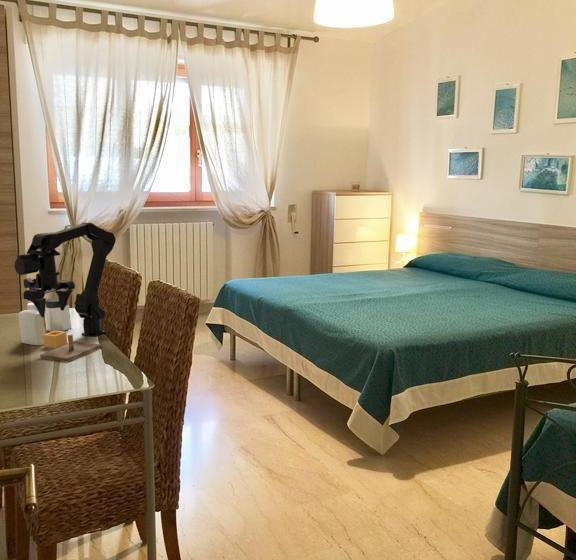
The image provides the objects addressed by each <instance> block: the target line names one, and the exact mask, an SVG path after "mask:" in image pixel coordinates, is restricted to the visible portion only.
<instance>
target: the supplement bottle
mask: <svg viewBox="0 0 576 560" xmlns="http://www.w3.org/2000/svg"><path fill="white" fill-rule="evenodd" d="M26 305H27V306H26V307H27V310H34V311H37V312H38V310H37V308H36V306H35V305H34V303H32V302H29V303H27V304H26ZM43 320H44V328H45V334H47V333H48V332H47V331H48V330H47V321H46V315H45V316H44V317H43Z"/></svg>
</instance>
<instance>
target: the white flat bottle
mask: <svg viewBox="0 0 576 560" xmlns="http://www.w3.org/2000/svg"><path fill="white" fill-rule="evenodd" d="M17 319H18V320H17V321H18V327H19V328H18V329H19V333H20V342H21V343H23V344H27V345H32V346H33V345H34V346H44V337H43V335H44V334H45V328H44V320H43V317H41V315H40V314H39V312H37V311H34V310H28V309H25V310H21V311H20V312H19V313H18V316H17Z"/></svg>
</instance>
